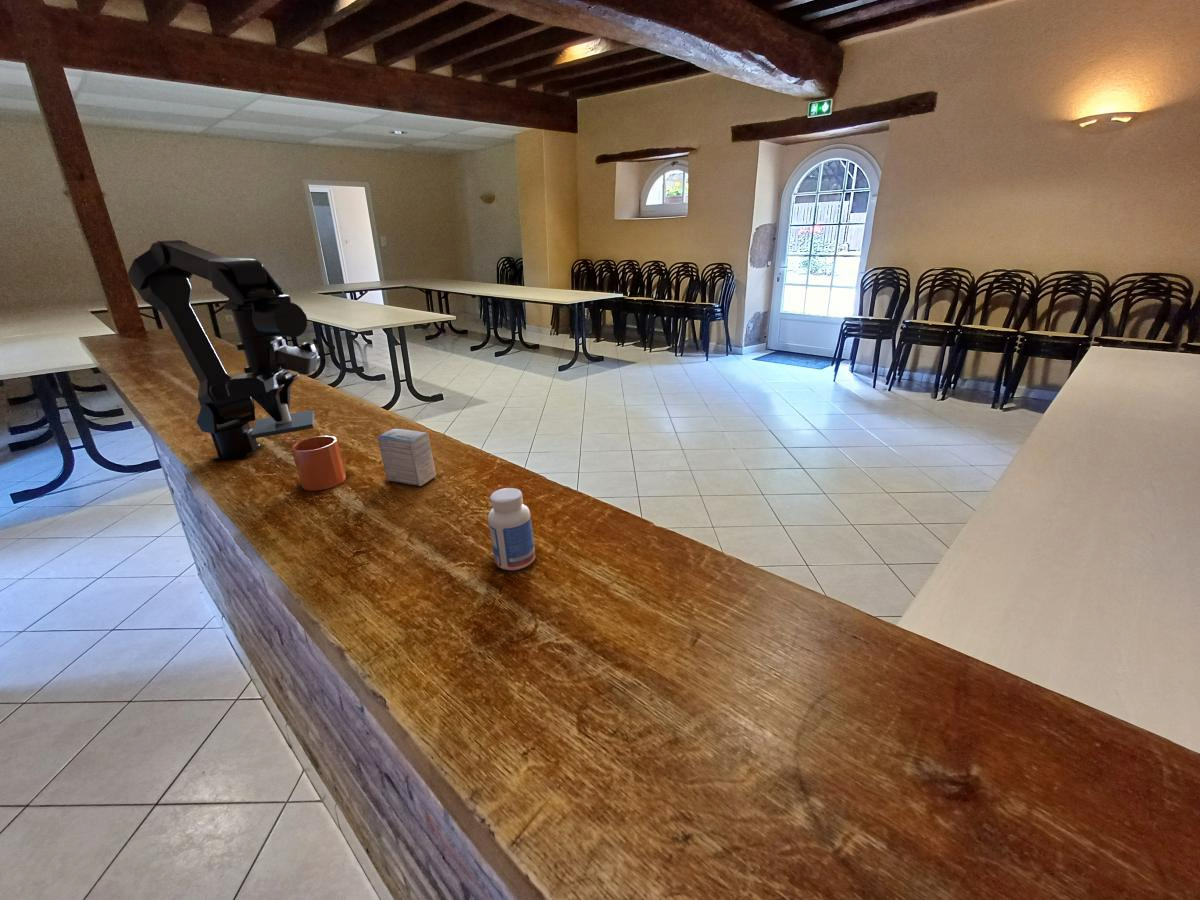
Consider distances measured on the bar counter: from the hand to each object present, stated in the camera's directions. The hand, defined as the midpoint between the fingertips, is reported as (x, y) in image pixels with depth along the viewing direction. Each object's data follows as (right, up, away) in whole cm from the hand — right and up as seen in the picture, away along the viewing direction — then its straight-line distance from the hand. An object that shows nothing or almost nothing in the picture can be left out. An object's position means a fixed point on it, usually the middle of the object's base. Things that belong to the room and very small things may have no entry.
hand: (282, 418), depth 103 cm
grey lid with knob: (0, -1, +1) cm, 1 cm away
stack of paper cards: (+26, -11, -4) cm, 28 cm away
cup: (+10, -12, -3) cm, 15 cm away
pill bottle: (+48, -21, -30) cm, 60 cm away
